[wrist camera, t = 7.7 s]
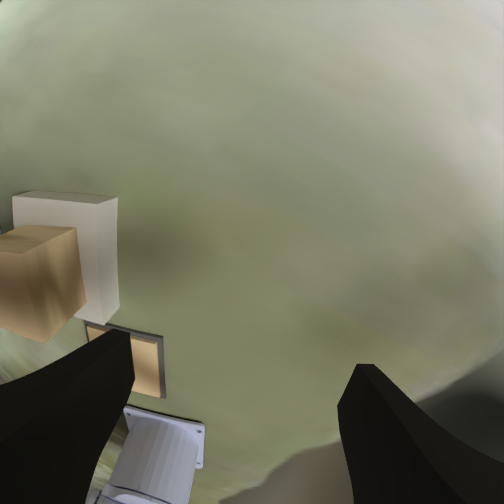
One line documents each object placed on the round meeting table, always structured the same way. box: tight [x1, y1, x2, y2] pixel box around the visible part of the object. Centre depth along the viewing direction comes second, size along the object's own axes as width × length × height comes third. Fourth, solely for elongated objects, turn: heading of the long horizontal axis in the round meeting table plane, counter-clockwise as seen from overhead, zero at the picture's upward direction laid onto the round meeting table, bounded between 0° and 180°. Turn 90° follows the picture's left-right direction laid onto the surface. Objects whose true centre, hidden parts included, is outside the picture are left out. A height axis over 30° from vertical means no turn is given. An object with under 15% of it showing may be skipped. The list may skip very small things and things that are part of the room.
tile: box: [84, 320, 166, 399], centre depth 20 cm, size 7×7×1 cm
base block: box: [12, 190, 120, 325], centre depth 17 cm, size 8×8×3 cm
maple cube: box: [0, 225, 87, 344], centre depth 13 cm, size 5×5×5 cm
